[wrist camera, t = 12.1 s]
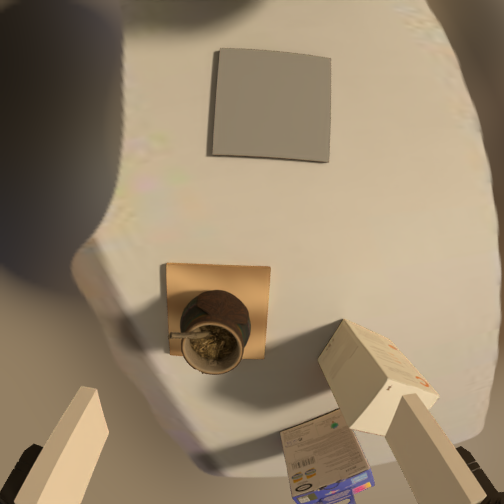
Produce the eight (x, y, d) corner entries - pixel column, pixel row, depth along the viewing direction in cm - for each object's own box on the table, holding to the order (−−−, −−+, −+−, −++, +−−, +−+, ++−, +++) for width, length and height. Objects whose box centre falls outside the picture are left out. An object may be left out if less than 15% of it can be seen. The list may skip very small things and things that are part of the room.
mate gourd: (233, 353, 35) (231, 407, 26) (172, 326, 34) (151, 374, 25) (262, 301, 34) (270, 345, 24) (198, 271, 33) (181, 306, 23)
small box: (315, 359, 37) (346, 429, 24) (343, 317, 36) (388, 376, 23) (364, 377, 38) (403, 441, 26) (390, 339, 37) (442, 395, 25)
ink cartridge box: (289, 452, 41) (305, 527, 27) (277, 431, 40) (291, 512, 25) (351, 428, 40) (382, 499, 26) (342, 405, 39) (377, 481, 25)
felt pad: (220, 50, 29) (220, 48, 28) (329, 60, 30) (330, 58, 29) (212, 154, 31) (212, 154, 31) (327, 162, 32) (329, 162, 32)
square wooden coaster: (167, 262, 34) (166, 264, 33) (269, 266, 34) (270, 268, 33) (171, 351, 36) (170, 355, 35) (263, 355, 37) (264, 359, 36)
